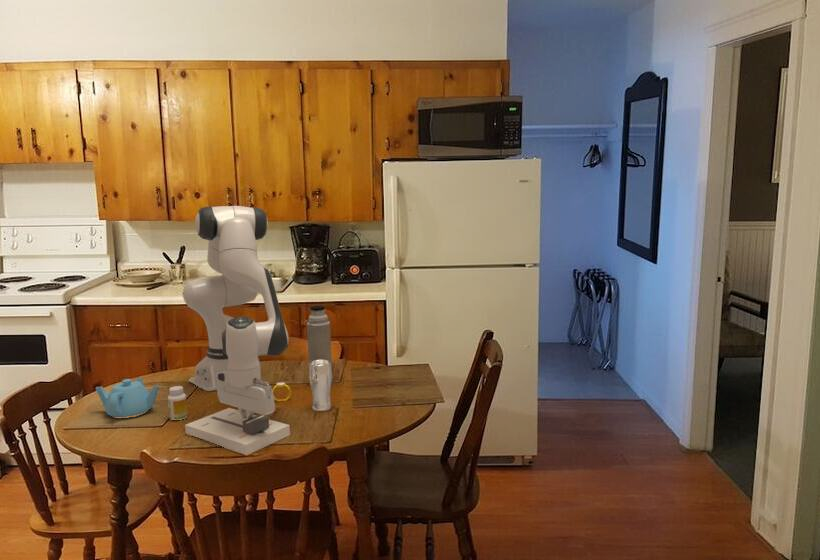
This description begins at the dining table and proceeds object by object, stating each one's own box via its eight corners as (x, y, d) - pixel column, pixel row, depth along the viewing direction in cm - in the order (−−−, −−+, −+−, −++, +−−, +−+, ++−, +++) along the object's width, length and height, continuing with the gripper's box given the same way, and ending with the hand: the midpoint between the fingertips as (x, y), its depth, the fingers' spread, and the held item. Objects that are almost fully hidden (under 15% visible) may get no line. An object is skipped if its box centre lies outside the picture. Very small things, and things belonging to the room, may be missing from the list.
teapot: (96, 412, 212) (92, 380, 210) (143, 400, 222) (140, 369, 220) (113, 425, 201) (109, 391, 199) (162, 412, 211) (159, 379, 209)
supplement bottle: (191, 415, 207) (189, 385, 205) (180, 422, 202) (177, 391, 200) (177, 414, 208) (174, 384, 207) (165, 420, 203) (163, 390, 202)
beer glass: (329, 412, 207) (326, 366, 204) (307, 411, 208) (305, 365, 206) (335, 404, 213) (333, 359, 211) (315, 403, 215) (313, 358, 212)
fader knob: (243, 431, 184) (242, 421, 184) (259, 424, 189) (258, 414, 189) (252, 434, 182) (252, 424, 182) (269, 427, 187) (268, 417, 186)
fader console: (185, 434, 192) (185, 424, 191) (229, 417, 205) (229, 407, 204) (246, 455, 177) (245, 444, 177) (290, 435, 190) (289, 424, 189)
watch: (273, 403, 216) (270, 386, 215) (273, 400, 219) (270, 383, 218) (291, 400, 218) (289, 383, 216) (291, 398, 220) (289, 380, 219)
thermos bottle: (319, 379, 239) (315, 303, 234) (337, 382, 235) (333, 305, 230) (305, 386, 232) (301, 307, 227) (323, 389, 228) (319, 309, 223)
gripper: (278, 379, 181) (281, 427, 184) (229, 367, 193) (232, 412, 196) (261, 385, 176) (264, 434, 179) (211, 373, 188) (215, 419, 190)
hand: (247, 423), depth 187 cm, fingers closed
